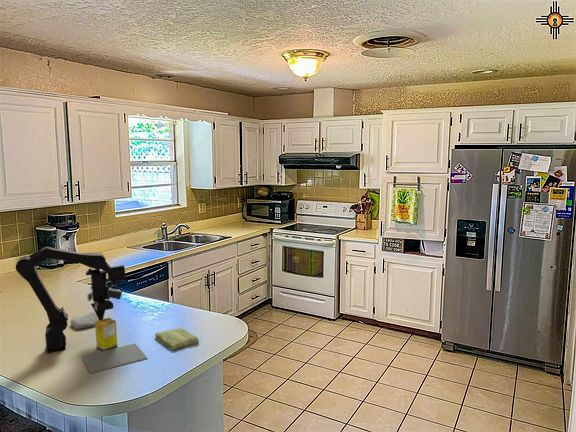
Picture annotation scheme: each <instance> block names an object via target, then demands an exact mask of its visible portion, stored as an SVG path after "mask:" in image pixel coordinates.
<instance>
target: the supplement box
mask: <svg viewBox="0 0 576 432" xmlns="http://www.w3.org/2000/svg"><path fill="white" fill-rule="evenodd" d="M94 327H95V328H94V329H95V339H96V341H95V343H96V348H97V349H98V350H100V351H105V350H109V349H113V348H118V334H117V333H118V331H117V320H115V319H112V318H110V317H107V318H103V320H99V321H96V322H95V326H94Z"/></svg>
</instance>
